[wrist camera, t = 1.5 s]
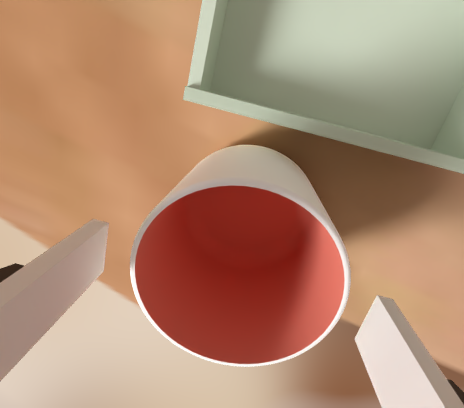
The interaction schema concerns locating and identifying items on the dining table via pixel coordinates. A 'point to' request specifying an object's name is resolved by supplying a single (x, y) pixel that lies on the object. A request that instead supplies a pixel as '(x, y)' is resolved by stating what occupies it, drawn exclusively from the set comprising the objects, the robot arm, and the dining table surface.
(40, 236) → the dining table surface
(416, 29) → the pale green square tray
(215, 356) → the cup
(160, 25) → the dining table surface
